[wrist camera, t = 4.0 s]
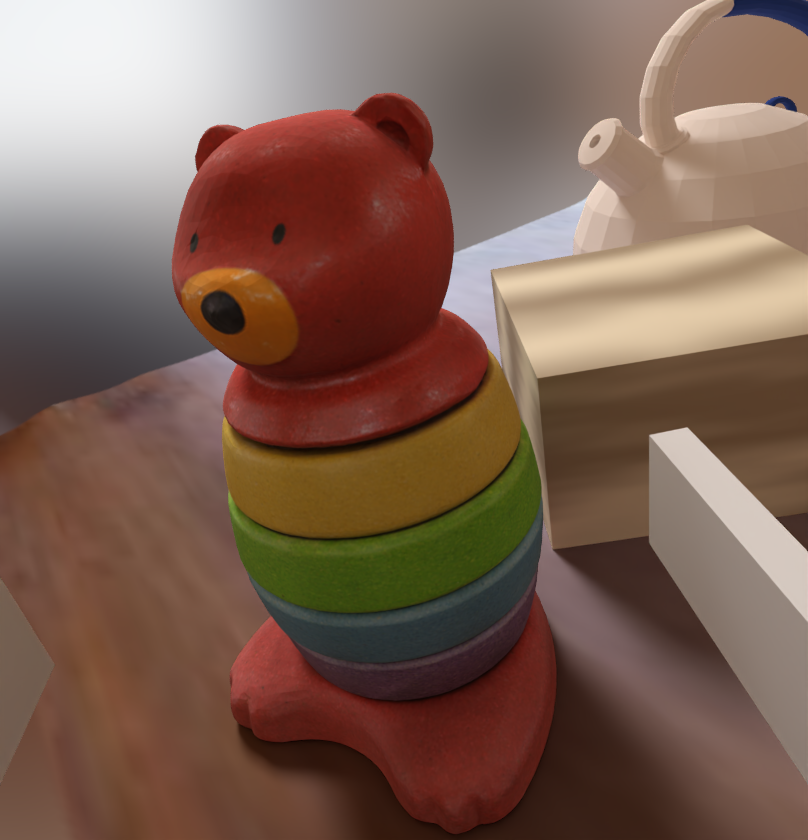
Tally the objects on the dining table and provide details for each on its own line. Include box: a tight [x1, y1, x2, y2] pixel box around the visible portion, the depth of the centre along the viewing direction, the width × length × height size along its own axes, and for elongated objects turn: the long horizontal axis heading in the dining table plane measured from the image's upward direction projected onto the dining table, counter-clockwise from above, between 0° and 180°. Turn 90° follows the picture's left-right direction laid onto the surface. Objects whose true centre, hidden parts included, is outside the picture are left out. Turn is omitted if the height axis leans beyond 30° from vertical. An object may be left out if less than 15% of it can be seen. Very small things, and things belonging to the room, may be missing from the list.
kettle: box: [573, 0, 808, 255], centre depth 45 cm, size 20×21×18 cm
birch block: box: [491, 225, 808, 550], centre depth 30 cm, size 13×13×8 cm
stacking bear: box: [172, 93, 557, 834], centre depth 19 cm, size 11×10×18 cm
